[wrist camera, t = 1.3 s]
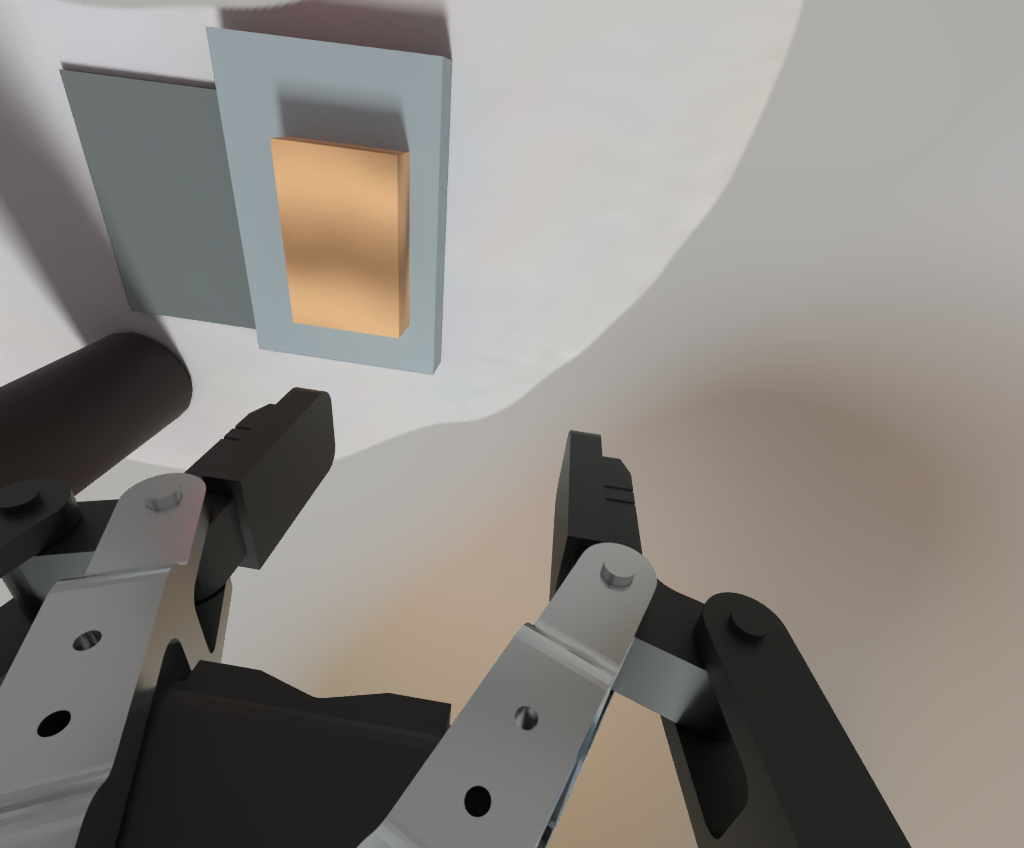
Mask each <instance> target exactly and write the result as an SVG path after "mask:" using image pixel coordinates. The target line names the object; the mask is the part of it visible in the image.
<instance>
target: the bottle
mask: <svg viewBox="0 0 1024 848" xmlns="http://www.w3.org/2000/svg"><path fill="white" fill-rule="evenodd" d="M191 397H192V391H191V383H190V380H189V378H188V376H187V374H186V371H185V369H184V368H183V367H182V365H181V364H180V363H179V361H178V360H177V359H176V357H175V356H174V355H172V354H171V353H170V352H169V351H168V350H167V349H165V348H164V347H163V346H162V345H160V344H158V343H157V342H155V341H153V340H151V339H149V338H147V337H145V336H141V335H137V334H134V333H114V334H112V335H109V336H107V337H105V338H103V339H101V340H99V341H97V342H94V343H92V344H90V345H88V346H86V347H84V348H82V349H80V350H78V351H76V352H73V353H71V354H69V355H67V356H65V357H63V358H61V359H59V360H57V361H54V362H52V363H50V364H48V365H46V366H44V367H42V368H40V369H38V370H36V371H33V372H31V373H29V374H27V375H25V376H23V377H21V378H19V379H17V380H15V381H12V382H10V383H8V384H6V385H4V386H2V387H0V488H3V487H5V486H8V485H11V484H14V483H18V482H22V481H27V480H34V479H55V480H60V481H62V482H65V483H66V484H68V485H69V487H70V488H71V490H72V493H73V495H74V496H75V495H77V494H78V493H79V492H81V491H82V490H83V489H85V488H86V487H87V486H88V485H90V484H91V483H92V482H94V481H95V480H96V479H98V478H99V477H100V476H102V475H103V474H104V473H106V472H107V471H108V470H110V469H111V468H112V467H113V466H115V465H116V464H117V463H119V462H120V461H121V460H123V459H124V458H125V457H127V456H128V455H129V454H131V453H132V452H133V451H134V450H136V449H137V448H138V447H140V446H141V445H142V444H144V443H145V442H146V441H148V440H149V439H150V438H152V437H153V436H154V435H156V434H157V433H158V432H159V431H161V430H162V429H163V428H165V427H166V426H167V425H169V424H170V423H171V422H173V421H174V420H175V419H177V418H178V417H179V416H180V415H181V414H182V413H183V412H184V411H185V410H186V409H187V408H188V407H189V404H190V401H191Z"/></svg>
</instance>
